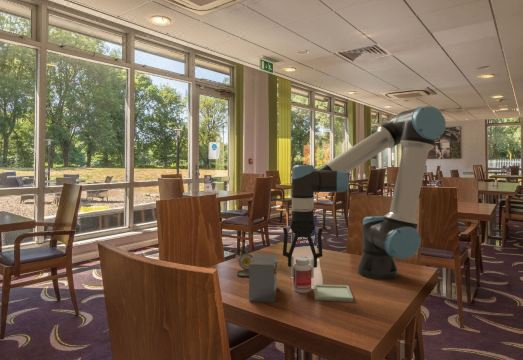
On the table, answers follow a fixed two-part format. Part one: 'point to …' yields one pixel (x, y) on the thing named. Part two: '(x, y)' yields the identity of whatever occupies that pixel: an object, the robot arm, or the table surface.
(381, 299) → the table surface
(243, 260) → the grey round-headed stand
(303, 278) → the pill bottle
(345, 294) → the pad
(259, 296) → the block
